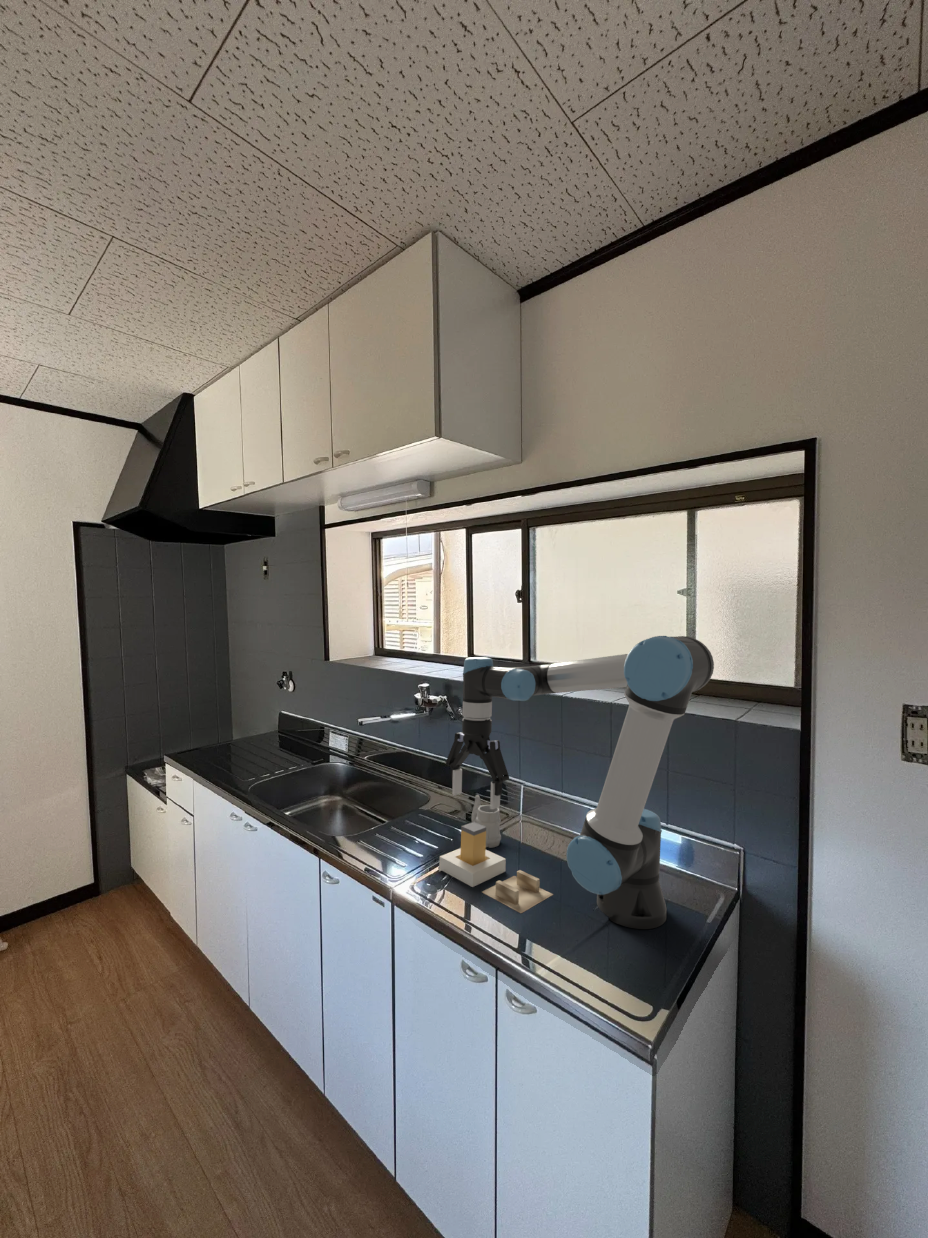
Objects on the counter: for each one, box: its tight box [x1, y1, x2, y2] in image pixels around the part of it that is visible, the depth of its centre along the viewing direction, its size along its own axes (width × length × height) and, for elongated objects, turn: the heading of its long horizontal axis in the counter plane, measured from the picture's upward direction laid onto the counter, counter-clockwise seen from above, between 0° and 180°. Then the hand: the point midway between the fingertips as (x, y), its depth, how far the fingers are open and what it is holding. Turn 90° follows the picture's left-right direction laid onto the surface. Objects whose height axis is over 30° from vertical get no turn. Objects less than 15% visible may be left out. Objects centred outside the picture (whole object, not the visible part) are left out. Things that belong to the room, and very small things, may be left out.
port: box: [438, 847, 507, 888], centre depth 135 cm, size 12×12×4 cm
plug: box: [460, 821, 487, 866], centre depth 135 cm, size 4×4×12 cm
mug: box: [471, 794, 502, 849], centre depth 156 cm, size 8×12×12 cm, turn 34°
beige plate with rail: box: [481, 869, 554, 914], centre depth 125 cm, size 12×12×4 cm
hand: (475, 801), depth 135 cm, fingers open, 13 cm apart
